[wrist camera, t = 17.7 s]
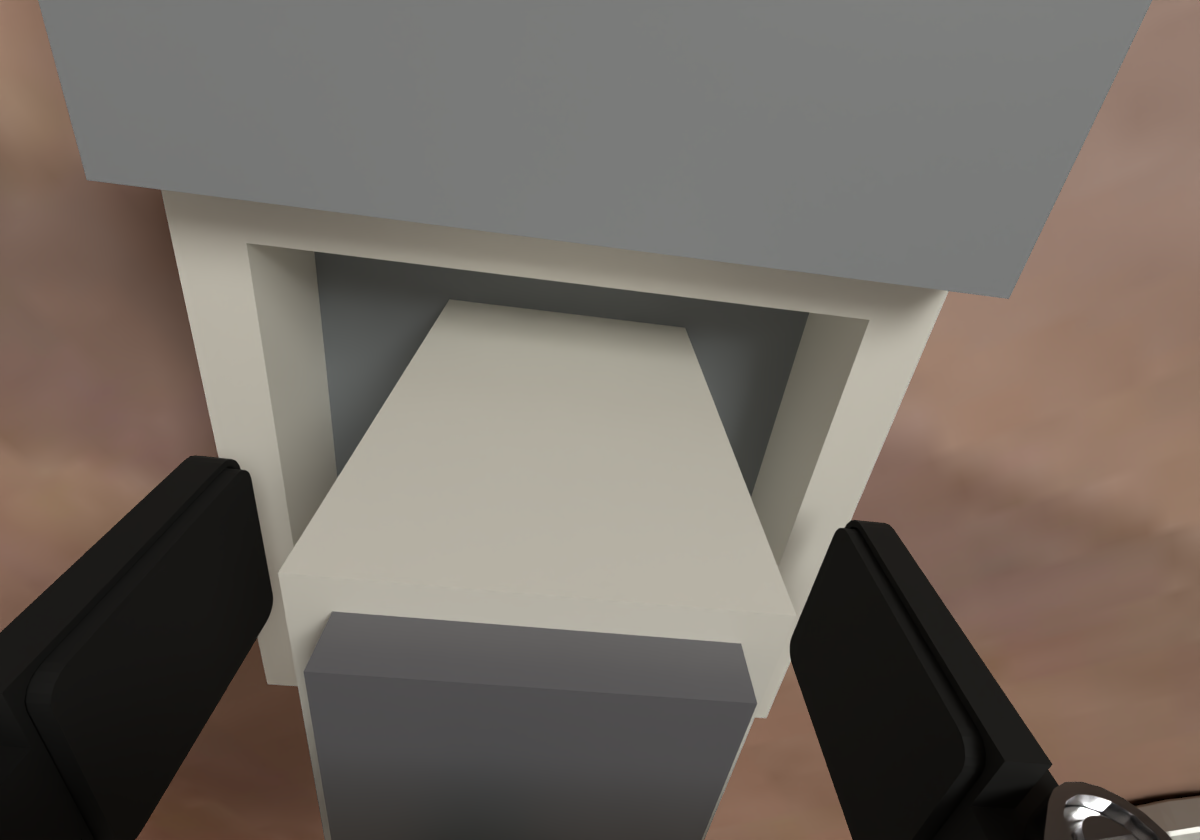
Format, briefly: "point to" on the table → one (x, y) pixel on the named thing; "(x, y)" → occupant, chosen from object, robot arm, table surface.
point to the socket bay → (541, 282)
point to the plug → (534, 592)
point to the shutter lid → (617, 119)
